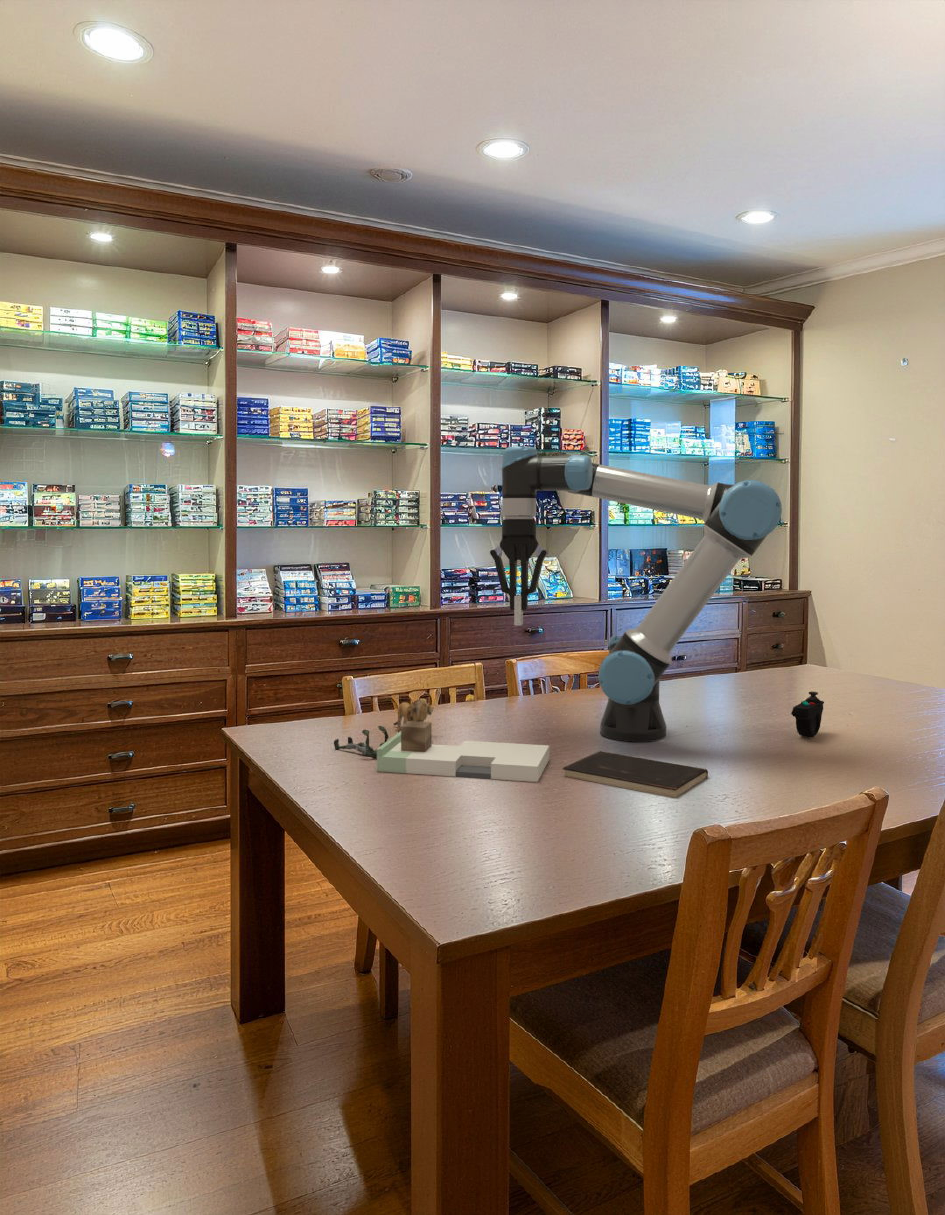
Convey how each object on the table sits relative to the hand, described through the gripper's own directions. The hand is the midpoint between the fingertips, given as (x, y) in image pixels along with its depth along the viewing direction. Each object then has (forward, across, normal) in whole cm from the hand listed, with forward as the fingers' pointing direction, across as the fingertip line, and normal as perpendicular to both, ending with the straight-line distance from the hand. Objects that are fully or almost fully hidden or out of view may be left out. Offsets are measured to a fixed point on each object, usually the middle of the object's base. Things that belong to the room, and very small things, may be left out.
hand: (518, 624), depth 190 cm
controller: (+27, -64, -18) cm, 72 cm away
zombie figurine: (+27, +30, +18) cm, 44 cm away
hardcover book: (+27, -27, +22) cm, 44 cm away
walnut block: (+23, +17, +22) cm, 37 cm away
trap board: (+26, +7, +22) cm, 35 cm away
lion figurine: (+27, +26, -2) cm, 37 cm away
